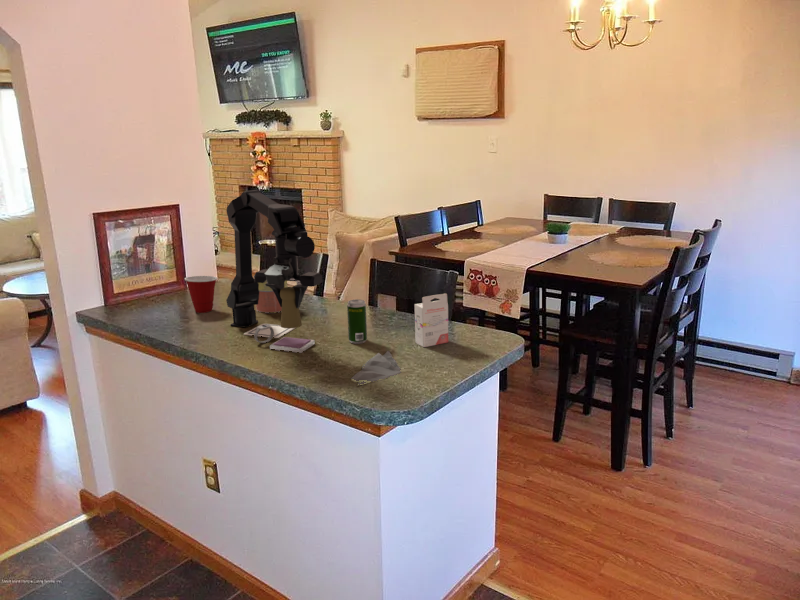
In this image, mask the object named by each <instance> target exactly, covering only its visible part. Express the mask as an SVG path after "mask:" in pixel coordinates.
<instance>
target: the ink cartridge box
mask: <svg viewBox="0 0 800 600" xmlns="http://www.w3.org/2000/svg"><path fill="white" fill-rule="evenodd" d="M421 299H422V300H421V301H422V302H421V303H414V333H415V335H414V336H415V338H414V339H415V340H414V341H415V344H417V345H419V346H420V347H423V348H427V347H433V346H437V345H441V344H447V343H449V304H448V294H447V293H445V292H444V293H440V294H433V295H427V296H423V297H422V298H421ZM434 299H436V300H434ZM437 299H438V300H437ZM432 300H434V301H432Z"/></svg>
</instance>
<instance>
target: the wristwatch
mask: <svg viewBox="0 0 800 600" xmlns="http://www.w3.org/2000/svg"><path fill="white" fill-rule="evenodd" d="M264 324H265V325H262V326H259V325H257V326H256V327H255V328H257V329H256V331H255V334H254V336H253V337H254V338H253V339H254V340H255V341H256V342H257V343H260V344H266V342H267V343H269V342H270V341H271V340H272V339H274V338H273V336H274V330H273V329H272V327H271V326H269V325H266V324H267V323H264ZM269 328H270V330H271V334H270V337H267V339H266V340H263V341H262V340H261V341H260V340H259V338H258V337H259V336H258V332H259V331H260V330H265V329H269Z"/></svg>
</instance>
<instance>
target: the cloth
mask: <svg viewBox="0 0 800 600" xmlns="http://www.w3.org/2000/svg"><path fill="white" fill-rule="evenodd" d="M364 365H365V366H364ZM363 367H364V368H363ZM397 374H398V375H400V374H402V371H401V366H399V364H398V362H397V360H396V359H395V358H393V354H391V351H390V350H387V351H385V353H384V354H383V355H382V354H381V353H380V352H378V353H376V354H375V355H374V356H373V357H371V358H369V359H368V360H367V361H366V362H365V363H364V364H363V366H362V367H361V370H360V371H357V372H356V373H355V374H354V375H353V376H352V377H351V378H350V379H354V380H356V381H359V380H367V381H371V382H373V381H377V380H379V379H384V380H386V379H385V378H387V379H389V378H391V377H390V376H392V377H395V376H397ZM394 375H395V376H394ZM388 377H389V378H388ZM377 382H378V381H377ZM364 383H366V382H364V381H363V382H361V383H359V382H358V384H359V385H360V384H364ZM373 383H374V382H373Z"/></svg>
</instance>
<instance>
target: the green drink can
mask: <svg viewBox="0 0 800 600" xmlns="http://www.w3.org/2000/svg"><path fill="white" fill-rule="evenodd" d="M346 307H347V308H346V309H347V310H346V311H347V333H348V334H347V335H348V337H347V338H348V341H349V342H350V343H351V344H353V345H354V344H355V345H359V344H364V343H366V342H367V340H368V332H367V330H368V327H367V303H366V300H365V299H358V298H357V299H350V300H348V301H347V305H346Z"/></svg>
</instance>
